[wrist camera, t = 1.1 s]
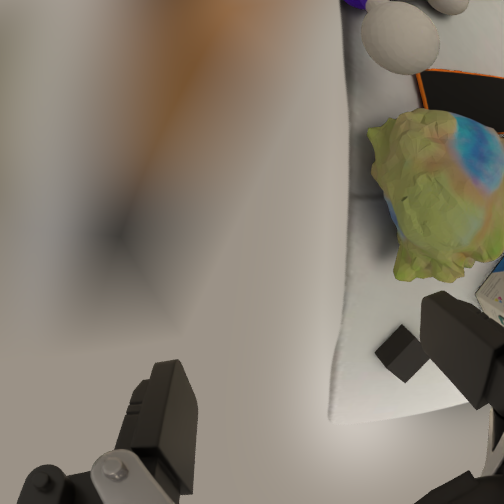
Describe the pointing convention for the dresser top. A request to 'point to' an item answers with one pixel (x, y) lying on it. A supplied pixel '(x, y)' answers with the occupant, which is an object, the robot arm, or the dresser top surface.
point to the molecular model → (403, 33)
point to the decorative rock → (441, 191)
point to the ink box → (493, 294)
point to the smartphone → (464, 95)
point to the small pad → (402, 354)
